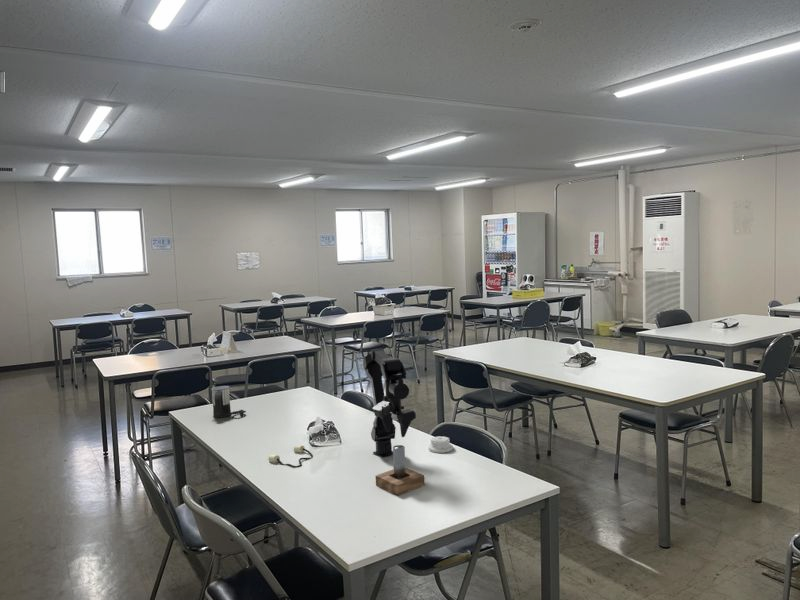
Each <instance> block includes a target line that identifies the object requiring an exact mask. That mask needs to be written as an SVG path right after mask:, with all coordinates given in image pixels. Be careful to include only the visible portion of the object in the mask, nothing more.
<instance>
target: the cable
mask: <svg viewBox="0 0 800 600" xmlns="http://www.w3.org/2000/svg"><path fill="white" fill-rule="evenodd" d="M292 451H293V452H294V453H295V454H302V453H304V452H305V453H308V455H310V457H300V458H299V459H298V463H299V464H298V465H293V464H290V463H283V462H282V461H281V460H280V457H281V456H280V455H279V454H270V455H269V457H268V459H267V460H268V462H269V463H271V464H277V463H279V464H280V465H281V466H288V467H291V468H294V469H297V468H300V467H302V464H303V463H302V461H303V460H306V461H307V460H311V459H313V457H314V455H313V453H311V452H310V451H309V450H308V449H306V448H305V445H301V444H300V445H299V444H296V445H294V447H293V450H292Z"/></svg>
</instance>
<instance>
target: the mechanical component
mask: <svg viewBox="0 0 800 600" xmlns="http://www.w3.org/2000/svg"><path fill="white" fill-rule="evenodd" d="M453 446H454V445H453V444H452V443H451V442H450V437H447V436H439V435H438V436H437V435H436V436H434V437H432V438H431V439H430V444H428V446H427V447H428V448H427V449H428V451H429V452H431V453H437V454H442V453H443V454H444V453H449V452H451V451H452V450H454V448H453Z"/></svg>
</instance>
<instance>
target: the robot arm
mask: <svg viewBox="0 0 800 600" xmlns="http://www.w3.org/2000/svg"><path fill="white" fill-rule="evenodd" d="M362 367H363V370H364V372H365V375H366V376H367V378H368V379H369V380H370V385H371V391H372V392H371V393H372V398H373V403H374V406H373V407H372V411H373V414H374V416H375V418H374V420H373V422H372V425H373V426H372V429H371V432H370V435H371V440H372V441H373V442H375V451H372V454H373V455H375V456H378V457H380V458H384V457H388V456H391V455H393V446H392V439H396V429H397V428H396V425H395V423H394V422H393V417H392V415H395V416H396V419H397V420H396V422H397V423H398V424H399V428H400V434H401V435H400V436H401V438H404V437H405V436H406V434H407V432H408V430H409V427H410V425H411V423H412V421H414V420H415V419H416V418H417V416H416V415H417V414H416V413H417V412H416V411H414V410H411V409H409V408H408V409H405V405H402V400H404V399H406V398H408V396H409V393H410V389H409V386H408V385H407V384H406V383H404V380H405V379H407V376H406V375H407V372H406V369H405V366H404V364H403V362H402V361H401V360H400V358H398V357H391V356H390V355H389V354H388V353H387V352H385V350H384V348H376V349H372V350H371V351H369V353H368V354H367V355H366V356H365V357H364V359H363V361H362ZM382 378H383V379H384V383H383V379H382ZM383 384H384V385H383ZM384 389H385V390H384Z"/></svg>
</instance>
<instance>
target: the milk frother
mask: <svg viewBox="0 0 800 600" xmlns="http://www.w3.org/2000/svg"><path fill="white" fill-rule="evenodd" d="M210 390H211V395H212V398H211V399H212V408H213V411H212V412H213V413H212V414H213V415H212V417H214V418H226V417H230V416H232V415H238V414H239V415H240V416H243V415H244V413H246V412H247V411H246V410H244V409H239V410H237V411H232V410H231V399H230V398H231V397H230V386H229V385H219V386H214V387H213V386H212V387H211V388H210Z"/></svg>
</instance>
